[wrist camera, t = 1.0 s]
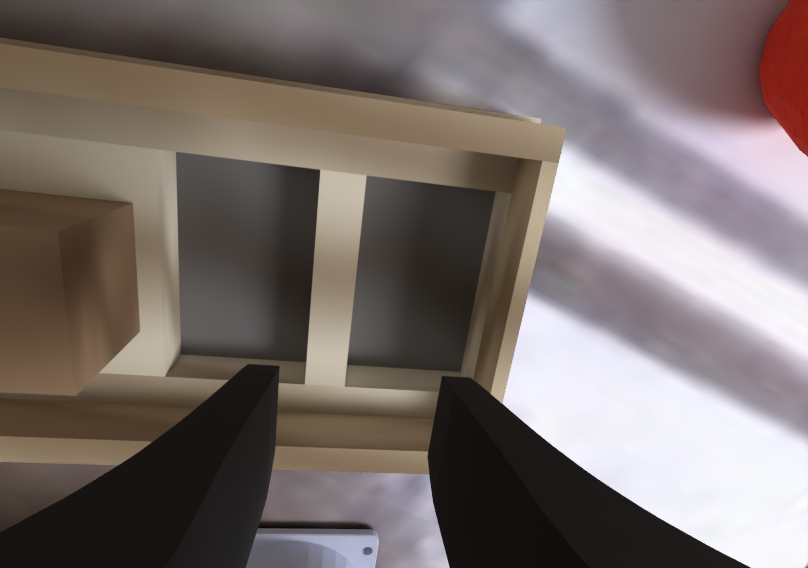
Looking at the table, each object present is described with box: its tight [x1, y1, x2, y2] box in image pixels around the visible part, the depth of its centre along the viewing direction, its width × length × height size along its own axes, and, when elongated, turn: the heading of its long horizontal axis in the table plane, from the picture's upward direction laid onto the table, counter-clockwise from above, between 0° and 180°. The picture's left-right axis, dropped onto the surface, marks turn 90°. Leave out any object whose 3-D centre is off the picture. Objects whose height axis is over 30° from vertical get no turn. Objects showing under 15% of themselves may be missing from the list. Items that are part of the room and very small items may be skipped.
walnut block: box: [0, 189, 140, 396], centre depth 13 cm, size 4×4×4 cm
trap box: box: [0, 37, 566, 474], centre depth 15 cm, size 13×24×4 cm, turn 82°
